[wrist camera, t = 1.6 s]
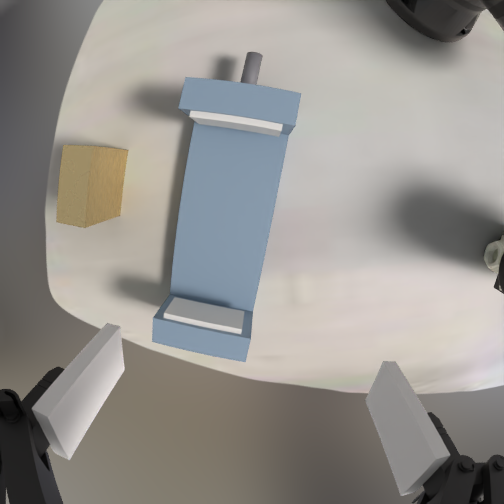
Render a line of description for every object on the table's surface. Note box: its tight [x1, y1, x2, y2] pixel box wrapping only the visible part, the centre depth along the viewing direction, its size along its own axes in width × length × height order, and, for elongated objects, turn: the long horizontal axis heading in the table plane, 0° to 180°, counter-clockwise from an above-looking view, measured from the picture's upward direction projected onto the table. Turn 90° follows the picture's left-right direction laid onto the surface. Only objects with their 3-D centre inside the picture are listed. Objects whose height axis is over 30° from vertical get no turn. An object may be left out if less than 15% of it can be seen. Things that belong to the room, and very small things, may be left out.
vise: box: [152, 121, 289, 362], centre depth 29 cm, size 26×10×8 cm, turn 169°
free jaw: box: [179, 52, 301, 137], centre depth 24 cm, size 9×10×6 cm
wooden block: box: [56, 145, 128, 228], centre depth 28 cm, size 8×4×8 cm, turn 169°
